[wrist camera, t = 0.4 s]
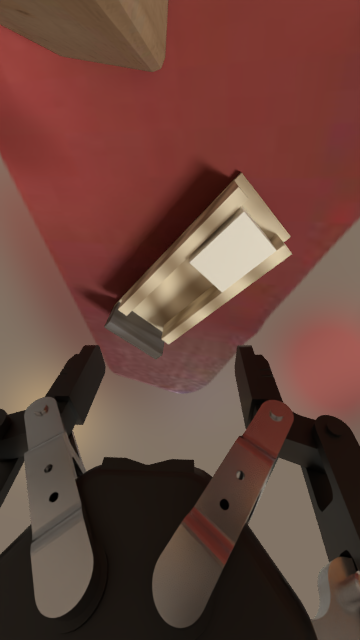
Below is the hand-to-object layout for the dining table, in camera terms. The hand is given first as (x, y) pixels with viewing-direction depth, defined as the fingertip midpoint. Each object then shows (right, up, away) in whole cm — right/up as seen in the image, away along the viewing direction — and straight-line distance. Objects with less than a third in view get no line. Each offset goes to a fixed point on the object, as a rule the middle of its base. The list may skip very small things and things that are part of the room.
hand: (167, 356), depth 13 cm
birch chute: (+3, +9, +20) cm, 22 cm away
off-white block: (+7, +12, +17) cm, 22 cm away
